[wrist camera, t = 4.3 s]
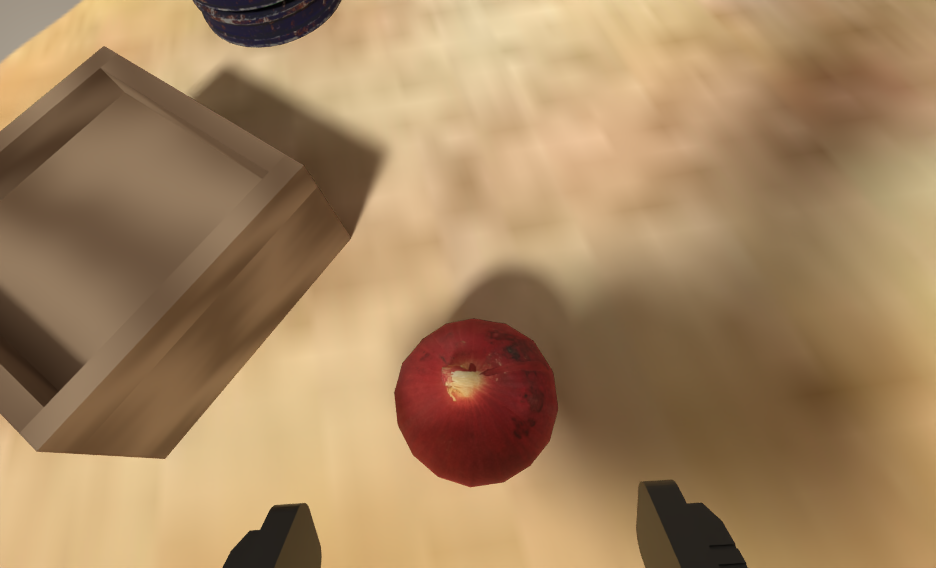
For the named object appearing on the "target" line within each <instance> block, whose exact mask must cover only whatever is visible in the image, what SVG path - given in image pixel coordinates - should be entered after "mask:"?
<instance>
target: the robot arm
mask: <svg viewBox="0 0 936 568" xmlns="http://www.w3.org/2000/svg"><path fill="white" fill-rule="evenodd" d="M636 530H637V539H638V545H639V549H640V553H641V556H642V559H643V562H644V565H645V568H747V566H746V562H745V560H744V558H743V557H742V555H741V553H740V551H739V550H738V548H736V546H735V543H734V541H733V539H732V538H731V536H730V534H729V532H728V531H727V529H726V527H725V525H724V524H723V522H722V521H721V520H720V519H719V518H718V517H717V516H716V515H715V514H714V513H712V512H711V511H710V510H709V509H708V508H707V507H706V506H705V505H704V504H703V503H690V504H687V503H686V501H685V499H684V497H683V495H682V493H681V491H680V489H679V487H678V486H677V484H676V483H675V481H673V480H660V481H645V482H640V483H639V488H638V506H637V525H636ZM223 568H321V546H320V542H319V539H318V536H317V533H316V529H315V526H314V523H313V519H312V516H311V513H310V509H309V507H308V505H307V504H306V503H299V504H284V505H274V506H273V507H272V508H271V509H270V511H269V513H268V515H267V517H266V519H265V521H264V523H263V525H262V527H261V529H260V530H253V531H249V532H248V533H247V534H246V535H245V536H244V538H243V539H242V540H241V541H240V542H239V543H238V544H237V545H236V546H235V547H234V548H233V549H232V551H231V552H230V554H229V556H228V558H227V560H226V562H225V564H224V566H223Z"/></svg>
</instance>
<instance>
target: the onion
mask: <svg viewBox="0 0 936 568" xmlns="http://www.w3.org/2000/svg"><path fill="white" fill-rule="evenodd" d="M394 394H395V403H396V413H397V422H398V426H399V428H400V430H401V432H402V434H403V436H404V438H405V440H406V442H407V444H408V446H409V448H410V450H411V452H412V454H413V455H414V456H415V457H416V458H417V459H418V460H419V461H420V462H422V463H423V464H424V465H425V466H426V467H427V468H428V469H430V470H431V471H432V472H433V473H434V474H435V475H437V476H438V477H440V478H443V479H446V480H450V481H453V482H456V483H459V484H462V485H465V486H468V487H475V486H482V485H489V484H496V483H502V482H505V481H506V480H508V479H510V478H511V477H513V476H514V475H516V474H518V473H519V472H521V471H522V470H524V469H526V468H527V467H529V466H530V465H531V464H532V463H533V461H534V460H535V459H536V458H537V456H538V455H539V454H540V453H541V451H542V450H543V449H544V448H545V446H546V445H547V444H548V442H549V441H550V438H551V434H552V430H553V426H554V423H555V419H556V415H557V411H558V404H557V396H556V389H555V382H554V374H553V371H552V369H551V368H550V366H549V365H548V363H547V361H546V360H545V358H544V357H543V355H542V354H541V352H540V350H539V349H538V347H537V346H536V344H535V343H534V341H533V340H531V339H530V338H528V337H526V336H525V335H523V334H521V333H520V332H518V331H517V330H515V329H513V328H512V327H510V326H508V325H507V324H504V323H497V322H491V321H485V320H480V319H474V318H473V319H468V320H463V321H458V322H453V323H447V324H445V325H443V326H442V327H440V328H439V329H437V330H436V331H434V332H433V333H431V334H430V335H428V336H427V337H425V338H423V339H422V341H421V342H420V343H419V344H418V345H417V347H416V348H415V349H414V350H413V351H412V353H411V354H410V355H409V356H408V357H407V358H406V360H405V361H404V362H403V363H402V367H401V370H400V374H399V378H398V381H397V385H396V388H395V392H394Z"/></svg>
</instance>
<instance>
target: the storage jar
mask: <svg viewBox="0 0 936 568" xmlns="http://www.w3.org/2000/svg"><path fill="white" fill-rule="evenodd" d="M193 2H194V3H195V5H196V6H197V7H198V8H199V10H200V11H202V14H203V16H204V18H205V20H206V22H207V23H208V25H209V26H210V27H211V29H212V30H213V31H214V33H216V34H217V35H218V36H219V37H220V38H222V39H224V40H226V41H228V42H230V43H233V44H236V45H240V46H245V47H270V46H276V45H281V44H284V43H288V42H291V41H294V40H296V39H298V38H301V37H303V36H305V35H307V34H309V33H310V32H312V31H314V30H315V29H317V28H318V27H319V26H321V25H322V24H323V23H324V22H325V21H326V20H327V19H328V18H329V17H331V15H332V14H333V13H334V11H335V10H336V9H337V7H338V5H339V4H340V2H341V0H193Z"/></svg>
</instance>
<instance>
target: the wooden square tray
mask: <svg viewBox="0 0 936 568" xmlns="http://www.w3.org/2000/svg"><path fill="white" fill-rule="evenodd" d="M350 239H351V237H350V236H349V234H348V233H347V231H346V230H345V228H344V226H343V225H342V223H341V222H340V220H339V219H338V217H337V216H336V214H335V213H334V211H333V210H332V208H331V206H330V205H329V203H328V202H327V200H326V199H325V197H324V196H323V194H322V193H321V191H320V189H319V188H318V186H317V185H316V183H315V182H314V180H313V179H312V177H311V176H310V174H309V173H308V171H307V169H306V168H305V166H304V165H303V164H301V163H299V162H298V161H296V160H294V159H293V158H291V157H289V156H288V155H286V154H284V153H282V152H281V151H279V150H277V149H276V148H274V147H272V146H271V145H269V144H267V143H266V142H264V141H262V140H261V139H259V138H257V137H256V136H254V135H252V134H251V133H249V132H247V131H246V130H244V129H242V128H241V127H239V126H237V125H236V124H234V123H232V122H231V121H229V120H227V119H226V118H224V117H222V116H221V115H219V114H217V113H215V112H214V111H212V110H210V109H209V108H207V107H205V106H204V105H202V104H200V103H199V102H197V101H195V100H194V99H192V98H190V97H189V96H187V95H185V94H184V93H182V92H180V91H179V90H177V89H175V88H174V87H172V86H170V85H169V84H167V83H165V82H164V81H162V80H160V79H159V78H157V77H155V76H154V75H152V74H150V73H148V72H147V71H145V70H143V69H142V68H140V67H138V66H137V65H135V64H133V63H132V62H130V61H128V60H127V59H125V58H123V57H122V56H120V55H118V54H117V53H115V52H113V51H112V50H110V49H108V48H107V47H105V46H103V47H102V48H101V49H100V50H99V51H97V52H96V53H95V54H94V55H92V56H91V57H90V58H89V59H88V60H86V61H85V62H84V63H83V64H82V65H80V66H79V67H78V68H77V69H75V70H74V71H73V72H72V73H71V74H69V75H68V76H67V77H66V78H65V79H63V80H62V81H61V82H60V83H58V84H57V85H56V86H55V87H54V88H52V89H51V90H50V91H49V92H48V93H46V94H45V95H44V96H43V97H42V98H40V99H39V100H38V101H37V102H35V103H34V104H33V105H32V106H31V107H29V108H28V109H27V110H26V111H25V112H23V113H22V114H21V115H20V116H18V117H17V118H16V119H15V120H14V121H12V122H11V123H10V124H9V125H8V126H6V127H5V128H4V129H3V130H1V131H0V414H1V415H2V416H3V417H4V418H5V419H6V420H7V421H8V422H9V423H10V424H11V425H12V426H13V427H14V428H15V429H16V430H17V431H18V433H19V434H20V435H21V436H22V437H23V438H24V439H25V440H26V441H27V442H28V443H29V444H30V445H31V446H32V447H33V448H34V449H35V450H36V451H37V452H54V453H72V454H89V455H107V456H124V457H142V458H159V459H165V458H166V457H167V456H168V455H169V454H170V452H171V451H172V450H173V449H174V448H175V446H176V445H177V444H178V443H179V442H180V440H181V439H182V438H183V437H184V436H185V435H186V433H187V432H188V431H189V430H190V429H191V427H192V426H193V425H194V424H195V423H196V422H197V420H198V419H199V418H200V417H201V416H202V414H203V413H204V412H205V411H206V410H207V408H208V407H209V406H210V405H211V404H212V403H213V401H214V400H215V399H216V398H217V397H218V395H219V394H220V393H221V392H222V391H223V390H224V388H225V387H226V386H227V385H228V384H229V382H230V381H231V380H232V379H233V378H234V376H235V375H236V374H237V373H238V372H239V371H240V369H241V368H242V367H243V366H244V365H245V363H246V362H247V361H248V360H249V359H250V358H251V356H252V355H253V354H254V353H255V352H256V350H257V349H258V348H259V347H260V346H261V344H262V343H263V342H264V341H265V340H266V339H267V337H268V336H269V335H270V334H271V333H272V331H273V330H274V329H275V328H276V327H277V326H278V324H279V323H280V322H281V321H282V320H283V318H284V317H285V316H286V315H287V314H288V312H289V311H290V310H291V309H292V308H293V307H294V305H295V304H296V303H297V302H298V301H299V299H300V298H301V297H302V296H303V295H304V293H305V292H306V291H307V290H308V289H309V288H310V286H311V285H312V284H313V283H314V282H315V280H316V279H317V278H318V277H319V276H320V275H321V273H322V272H323V271H324V270H325V269H326V267H327V266H328V265H329V264H330V263H331V261H332V260H333V259H334V258H335V257H336V256H337V254H338V253H339V252H340V251H341V250H342V248H343V247H344V246H345V245H346V244H347V243H348V241H349V240H350Z"/></svg>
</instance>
